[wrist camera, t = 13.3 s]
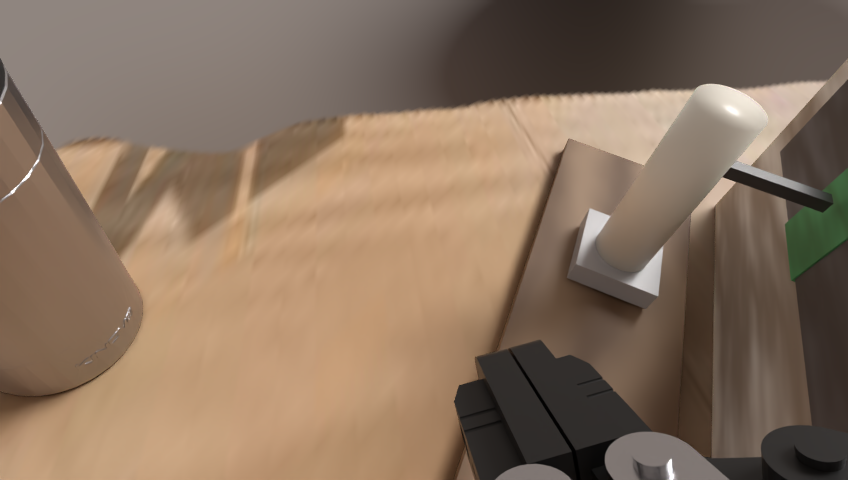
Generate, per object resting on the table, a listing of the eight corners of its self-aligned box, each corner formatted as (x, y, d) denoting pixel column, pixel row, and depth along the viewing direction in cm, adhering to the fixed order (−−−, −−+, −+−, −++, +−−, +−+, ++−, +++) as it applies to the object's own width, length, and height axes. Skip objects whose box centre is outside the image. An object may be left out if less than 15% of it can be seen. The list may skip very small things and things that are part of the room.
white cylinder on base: (566, 277, 37) (671, 118, 25) (580, 222, 40) (678, 61, 29) (711, 335, 35) (893, 195, 24) (712, 272, 39) (870, 124, 27)
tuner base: (444, 507, 28) (552, 388, 14) (563, 150, 49) (655, -44, 34) (747, 651, 26) (1243, 685, 12) (736, 213, 46) (910, 34, 32)
